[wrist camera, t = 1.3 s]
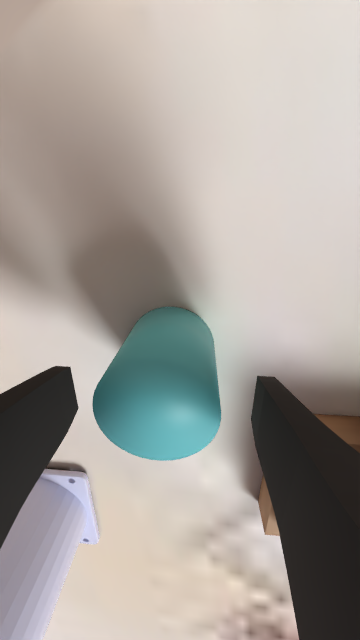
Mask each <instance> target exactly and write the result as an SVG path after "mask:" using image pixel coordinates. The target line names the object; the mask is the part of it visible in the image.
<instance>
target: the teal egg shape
mask: <svg viewBox="0 0 360 640" xmlns="http://www.w3.org/2000/svg"><path fill="white" fill-rule="evenodd" d="M93 412H94V416H95V419H96V422H97V424H98V426H99V427H100V429H101V430H102V432H103V433H104V434H105V436H106V437H107V438H108V439H109V440H110V441H112V442H113V443H114V444H115V445H117V446H118V447H120V448H121V449H123V450H125V451H127V452H128V453H131V454H133V455H136V456H139V457H142V458H146V459H151V460H176V459H181V458H185V457H188V456H190V455H193V454H195V453H197V452H199V451H200V450H202V449H203V448H204V447H206V446H207V445H208V444H209V443H210V442H211V441H212V439H213V438H214V437H215V435H216V433H217V431H218V429H219V426H220V421H221V407H220V398H219V388H218V379H217V369H216V360H215V350H214V341H213V337H212V333H211V331H210V329H209V327H208V326H207V324H206V323H205V322H204V321H203V320H202V319H201V318H200V317H199V316H197V315H196V314H194V313H193V312H191V311H189V310H186V309H183V308H179V307H161V308H157V309H154V310H152V311H149V312H148V313H146V314H145V315H143V316H142V317H141V318H140V319H139V320H138V321H137V323H136V324H135V326H134V327H133V329H132V330H131V332H130V334H129V335H128V337H127V338H126V340H125V342H124V343H123V345H122V346H121V348H120V350H119V351H118V353H117V354H116V356H115V358H114V359H113V361H112V362H111V364H110V366H109V367H108V369H107V370H106V372H105V374H104V375H103V377H102V378H101V380H100V382H99V383H98V385H97V387H96V389H95V392H94V396H93Z"/></svg>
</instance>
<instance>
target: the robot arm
mask: <svg viewBox="0 0 360 640" xmlns="http://www.w3.org/2000/svg"><path fill="white" fill-rule="evenodd" d="M77 410H78V404H77V399H76V394H75V389H74V384H73V379H72V374H71V368H70V367H63V366H55V367H52V368H50V369H48V370H46V371H44V372H42V373H40V374H38V375H36V376H34V377H32V378H30V379H28V380H26V381H24V382H22V383H21V384H19V385H17V386H15V387H13V388H11V389H9V390H7V391H5V392H4V393H2V394H0V640H43V638H44V635H45V633H46V630H47V627H48V625H49V622H50V619H51V617H52V614H53V611H54V609H55V606H56V603H57V601H58V598H59V595H60V593H61V590H62V587H63V585H64V582H65V579H66V577H67V574H68V571H69V569H70V566H71V563H72V561H73V558H74V555H75V553H76V550H77V547H78V545H79V543H85V544H97V543H98V541H99V538H100V535H99V530H98V525H97V520H96V515H95V511H94V506H93V501H92V496H91V491H90V486H89V481H88V477H87V475H86V474H85V473H83V472H79V471H66V470H53V469H45V468H46V466H47V465H48V463H49V462H50V460H51V458H52V457H53V455H54V454H55V452H56V450H57V449H58V447H59V445H60V444H61V442H62V441H63V439H64V437H65V436H66V434H67V432H68V430H69V428H70V426H71V424H72V422H73V419H74V417H75V415H76V412H77ZM251 421H252V428H253V434H254V440H255V446H256V450H257V453H258V457H259V460H260V464H261V468H262V471H263V475H264V478H265V482H266V485H267V489H268V492H269V496H270V499H271V503H272V506H273V510H274V513H275V517H276V521H277V525H278V529H279V534H280V539H281V544H282V549H283V554H284V559H285V564H286V569H287V574H288V580H289V585H290V590H291V596H292V601H293V607H294V612H295V618H296V623H297V629H298V635H299V640H360V453H359V452H358V451H356V450H355V449H354V448H353V447H351V446H350V445H349V444H348V443H346V442H345V441H344V440H343V439H342V438H340V437H339V436H338V435H337V434H336V433H334V432H333V431H332V430H331V429H330V428H328V427H327V426H326V425H325V424H324V423H323V422H322V421H320V420H319V419H318V418H317V417H316V416H315V415H314V414H313V413H312V412H311V411H309V410H308V409H307V408H306V407H305V406H304V405H303V404H302V403H301V402H300V401H299V400H298V399H297V398H296V397H295V396H294V395H293V394H292V393H291V392H290V391H289V390H287V389H286V388H285V387H284V386H283V385H282V384H281V383H280V382H279V381H278V380H277V379H276V378H275V377H266V376H257V382H256V389H255V396H254V403H253V409H252V416H251Z"/></svg>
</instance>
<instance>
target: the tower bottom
mask: <svg viewBox="0 0 360 640" xmlns="http://www.w3.org/2000/svg"><path fill="white" fill-rule="evenodd" d="M314 415H315V416H316V417H317V418H318V419H319V420H320V421H322V422H323V423H324V424H325V425H326V426H327V427H328V428H330V429H331V430H332V431H333V432H334V433H336V434H337V435H338V436H339V437H340V438H342V439H343V440H344V441H345V442H346V443H348V444H349V445H350V446H351V447H353V448H354V449H355V450H356V451H358V452H359V453H360V417H358V416H340V415H321V414H314ZM258 503H259V508H260V513H261V518H262V523H263V527H264V532H265V535H276V536H280V534H279V529H278V525H277V521H276V517H275V513H274V510H273V506H272V503H271V499H270V496H269V492H268V489H267V485H266V482H265V478H264V475H263V477H262V483H261V488H260V494H259V499H258Z"/></svg>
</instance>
